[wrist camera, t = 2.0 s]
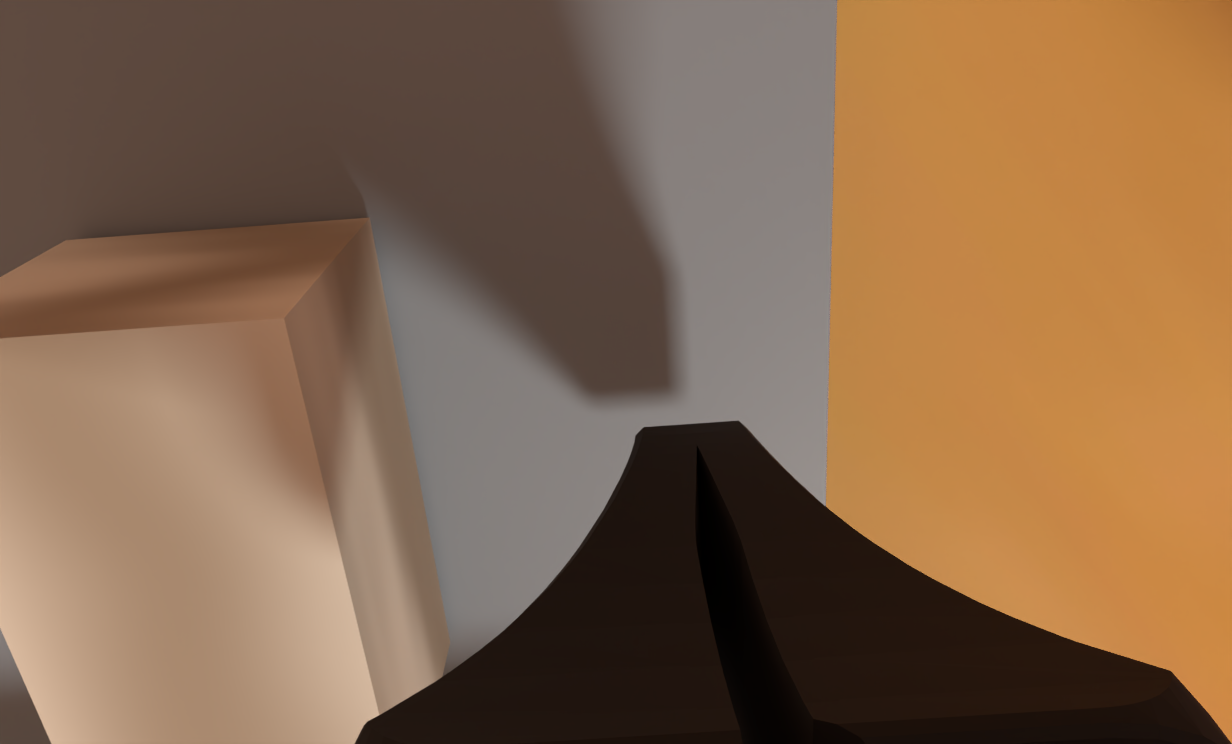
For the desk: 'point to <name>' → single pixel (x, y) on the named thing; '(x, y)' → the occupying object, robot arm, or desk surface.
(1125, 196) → the desk surface
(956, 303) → the desk surface
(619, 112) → the gauge board
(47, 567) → the block
